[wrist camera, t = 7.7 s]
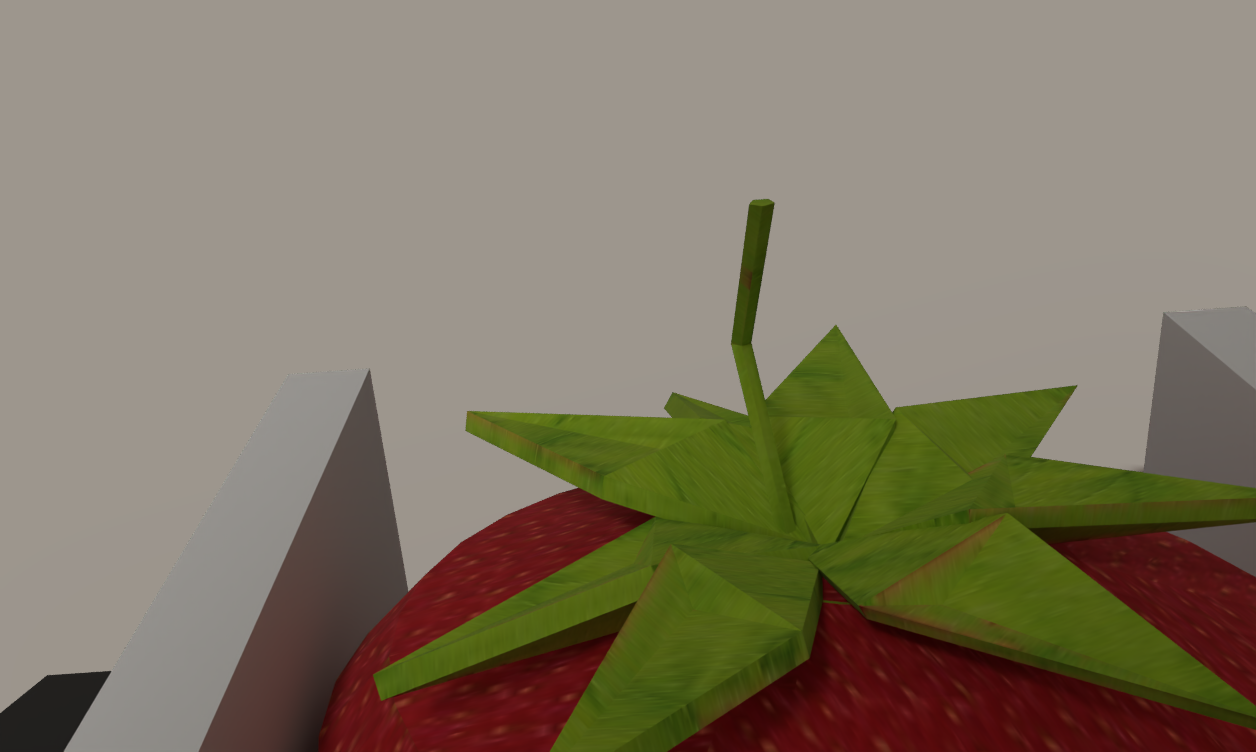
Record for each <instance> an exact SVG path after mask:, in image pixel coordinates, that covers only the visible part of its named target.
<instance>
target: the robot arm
mask: <svg viewBox="0 0 1256 752" xmlns="http://www.w3.org/2000/svg"><path fill="white" fill-rule="evenodd" d="M1143 473H1150V474H1158V475H1165V476H1172V477H1179V478H1187V479H1194V480H1201V481H1208V482H1215V483H1223V484H1230V485H1237V486H1244V487H1252V488H1256V313H1255V312H1253V311H1252V310H1250V309H1249V308H1248V307H1231V308H1217V309H1203V310H1189V311H1175V312H1164V313H1163V320H1162V328H1161V337H1160V344H1159V353H1158V361H1157V368H1156V376H1155V384H1154V393H1153V400H1152V409H1151V416H1150V424H1149V432H1148V440H1147V448H1146V456H1145V464H1144V472H1143ZM1168 533H1171V534H1173V535H1175V536H1178V537H1180V538H1183V539H1185V540H1188V541H1190V542H1192V543H1194V544H1196V545H1197V546H1199V547H1201V548H1203V549H1205V550H1207V551H1209V552H1210V553H1212V554H1214V555H1216V556H1218V557H1220V558H1221V559H1223V560H1225V561H1227V562H1229V563H1231V564H1233V565H1234V566H1236V567H1238V568H1240V569H1242V570H1244V571H1245V572H1247V573H1249V574H1251V575H1253V576H1255V577H1256V522H1254V523H1244V524H1235V525H1225V526H1216V527H1206V528H1197V529H1188V530H1178V531H1169V532H1168ZM407 593H408V587H407V581H406V576H405V570H404V564H403V558H402V552H401V547H400V541H399V535H398V529H397V523H396V518H395V512H394V507H393V500H392V496H391V489H390V483H389V478H388V472H387V466H386V461H385V455H384V449H383V443H382V437H381V431H380V426H379V421H378V414H377V409H376V403H375V397H374V391H373V386H372V380H371V374H370V369H357V370H356V369H355V370H341V371H327V372H313V373H299V374H288V376H287V377H286V379H285V381H284V382H283V384H282V386H281V387H280V389H279V391H278V393H277V394H276V396H275V397H274V399H273V401H272V403H271V404H270V406H269V408H268V409H267V411H266V413H265V414H264V416H263V418H262V419H261V421H260V423H259V424H258V426H257V428H256V429H255V431H254V433H253V435H252V436H251V438H250V440H249V441H248V443H247V445H246V446H245V448H244V450H243V451H242V453H241V455H240V456H239V458H238V460H237V461H236V463H235V465H234V467H233V468H232V470H231V471H230V473H229V475H228V476H227V478H226V480H225V481H224V483H223V485H222V487H221V488H220V490H219V492H218V493H217V495H216V497H215V498H214V500H213V502H212V503H211V505H210V507H209V508H208V510H207V512H206V513H205V515H204V517H203V519H202V520H201V522H200V523H199V525H198V527H197V529H196V530H195V532H194V534H193V535H192V537H191V539H190V540H189V542H188V544H187V546H186V547H185V549H184V550H183V552H182V554H181V555H180V557H179V559H178V561H177V562H176V564H175V565H174V567H173V569H172V571H171V572H170V574H169V576H168V577H167V579H166V581H165V582H164V584H163V586H162V587H161V589H160V591H159V592H158V594H157V596H156V598H155V599H154V601H153V603H152V604H151V606H150V608H149V609H148V611H147V613H146V614H145V616H144V618H143V619H142V621H141V623H140V624H139V626H138V628H137V629H136V631H135V633H134V634H133V636H132V638H131V639H130V641H129V643H128V644H127V646H126V648H125V650H124V651H123V653H122V655H121V656H120V658H119V660H118V661H117V663H116V665H115V666H114V668H113V670H112V671H105V672H91V673H75V674H62V675H47V676H46V677H44V678H43V679H42V680H41V681H40V682H38V683H37V684H36V685H35V686H33V687H32V688H31V689H30V690H28V691H27V692H26V693H25V694H23V695H22V696H21V697H20V698H19V699H17V700H16V701H15V702H14V703H12V704H11V705H10V706H9V707H7V708H6V709H5V710H4V711H3V712H2V713H0V752H318V741H319V733H320V730H321V727H322V724H323V720H324V717H325V714H326V710H327V707H328V704H329V701H330V697H331V694H332V691H333V688H334V684H335V681H336V680H337V678H338V677H339V675H340V674H341V672H342V671H343V669H344V668H345V666H346V665H347V663H348V662H349V660H350V659H351V657H352V656H353V654H354V653H355V651H356V650H357V649H358V647H359V646H360V644H361V643H362V641H363V640H364V638H365V637H366V635H367V634H368V633H369V632H370V631H371V630H372V629H373V628H374V627H375V626H376V625H377V624H378V623H379V622H380V621H381V619H382V618H383V617H384V616H385V615H386V614H387V613H388V612H389V611H390V610H391V609H392V608H393V607H394V606H395V605H396V604H397V603H398V602H399V601H400V600H401V599H402V598H403V597H404V596H405V595H406V594H407Z"/></svg>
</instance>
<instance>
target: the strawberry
mask: <svg viewBox="0 0 1256 752" xmlns="http://www.w3.org/2000/svg"><path fill="white" fill-rule="evenodd" d="M773 209H774V202H772V201H771V200H769V199H763V200H762V199H761V200H753V201H752V202H751V203H750V204H749V211H748V219H747V226H746V233H745V241H744V249H743V256H742V264H741V272H740V279H739V287H738V294H737V302H736V311H735V318H734V326H733V333H732V340H731V345H732V350H733V353H734V358H735V362H736V366H737V370H738V374H739V378H740V383H741V386H742V391H743V395H744V399H745V403H746V407H747V411H748V416H747V415H744V414H741V413H738V412H734V411H731V410H728V409H725V408H722V407H718V406H715V405H712V404H709V403H706V402H702V401H699V400H696V399H692V398H689V397H686V396H683V395H680V394H677V393H672V395H671V396H670V398H669V400H668V402H667V404H666V405H665V407H664V409H665V410H666V411H667V412H668V413H669V414H670V416H671V417H672V418H660V417H630V416H600V415H570V414H540V413H510V412H480V411H467V419H466V431H467V432H469V433H471V434H473V435H475V436H477V437H479V438H481V439H483V440H485V441H487V442H489V443H491V444H493V445H495V446H497V447H499V448H501V449H503V450H505V451H507V452H509V453H511V454H513V455H515V456H517V457H519V458H521V459H523V460H525V461H527V462H529V463H531V464H533V465H535V466H537V467H539V468H541V469H543V470H545V471H547V472H549V473H551V474H553V475H555V476H557V477H559V478H561V479H563V480H565V481H567V482H569V483H571V484H573V485H575V486H577V487H579V488H577V489H573V490H570V491H566V492H562V493H559V494H556V495H554V496H552V497H549V498H547V499H544V500H542V501H540V502H537V503H535V504H532V505H530V506H528V507H525V508H523V509H520V510H518V511H515V512H513V513H511V514H508V515H506V516H504V517H503V518H501V519H499V520H498V521H496V522H494V523H493V524H491V525H489V526H488V527H486V528H485V529H483V530H481V531H479V532H478V533H476V534H474V535H473V536H471V537H469V538H468V539H466V540H464V541H463V542H461V543H460V544H459V545H458V546H457V547H455V548H454V549H453V550H452V551H451V552H450V553H449V554H448V555H447V556H446V557H445V558H443V559H442V560H441V561H440V562H439V563H438V564H437V565H436V566H434V567H433V568H432V569H431V570H430V571H429V572H428V573H427V574H426V575H425V576H424V577H423V578H422V579H421V580H420V581H419V582H418V583H417V584H416V585H415V586H414V587H413V588H412V589H411V590H410V591H409V592H408V593H407V594H406V595H405V596H404V597H403V598H402V599H401V600H400V601H399V602H398V603H397V604H396V605H395V606H394V607H393V608H392V609H391V610H390V611H389V612H388V613H387V614H386V615H385V616H384V617H383V618H382V619H381V621H380V622H379V623H378V624H377V625H376V626H375V627H374V628H373V629H372V630H371V631H370V632H369V633H368V634H367V635H366V637H365V638H364V640H363V641H362V643H361V644H360V646H359V647H358V649H357V650H356V651H355V653H354V654H353V656H352V657H351V659H350V660H349V662H348V663H347V665H346V666H345V668H344V669H343V671H342V672H341V674H340V675H339V677H338V678H337V680H336V681H335V684H334V688H333V691H332V694H331V697H330V701H329V704H328V707H327V710H326V714H325V717H324V720H323V724H322V727H321V730H320V733H319V741H318V752H1256V577H1255V576H1253V575H1251V574H1249V573H1247V572H1245V571H1244V570H1242V569H1240V568H1238V567H1236V566H1234V565H1233V564H1231V563H1229V562H1227V561H1225V560H1223V559H1221V558H1220V557H1218V556H1216V555H1214V554H1212V553H1210V552H1209V551H1207V550H1205V549H1203V548H1201V547H1199V546H1197V545H1196V544H1194V543H1192V542H1190V541H1188V540H1185V539H1183V538H1180V537H1178V536H1175V535H1173V534H1171V533H1168V532H1169V531H1178V530H1188V529H1197V528H1206V527H1216V526H1225V525H1235V524H1244V523H1254V522H1256V488H1252V487H1244V486H1237V485H1230V484H1223V483H1215V482H1208V481H1201V480H1194V479H1187V478H1179V477H1172V476H1165V475H1158V474H1150V473H1143V472H1136V471H1129V470H1122V469H1114V468H1107V467H1100V466H1093V465H1085V464H1078V463H1071V462H1064V461H1056V460H1049V459H1042V458H1035V457H1031V456H1032V454H1033V453H1034V451H1035V450H1036V448H1037V447H1038V445H1039V444H1040V442H1041V441H1042V439H1043V438H1044V436H1045V434H1046V433H1047V431H1048V430H1049V428H1050V427H1051V425H1052V424H1053V422H1054V421H1055V419H1056V418H1057V416H1058V414H1059V413H1060V412H1061V410H1062V409H1063V407H1064V406H1065V404H1066V402H1067V401H1068V399H1069V398H1070V396H1071V395H1072V393H1073V392H1074V390H1075V389H1076V387H1077V385H1076V386H1068V387H1060V388H1052V389H1044V390H1035V391H1028V392H1019V393H1011V394H1003V395H994V396H986V397H978V398H970V399H961V400H953V401H945V402H937V403H929V404H921V405H913V406H904V407H896V408H895V409H894V411H893V412H891V410H890V409H889V407H888V405H887V404H886V402H885V401H884V399H883V398H882V396H881V394H880V393H879V391H878V390H877V388H876V387H875V385H874V384H873V382H872V380H871V379H870V377H869V376H868V374H867V372H866V371H865V369H864V368H863V366H862V365H861V363H860V361H859V360H858V358H857V357H856V355H855V354H854V352H853V350H852V349H851V347H850V346H849V344H848V343H847V341H846V340H845V338H844V336H843V335H842V333H841V332H840V330H839V329H838V327H837V325H835V326H834V327H833V329H832V330H831V331H830V332H829V333H828V334H827V335H826V336H825V337H824V338H823V339H822V340H821V341H820V342H819V343H818V344H817V345H816V347H815V348H814V349H813V350H812V351H811V352H810V353H809V354H808V355H807V356H806V357H805V359H803V361H802V362H801V363H800V364H799V365H798V366H797V367H796V368H795V369H794V370H793V371H792V372H791V373H790V374H789V375H788V377H787V378H786V379H785V380H784V381H783V382H782V383H781V384H780V385H779V386H778V387H777V389H775V390H774V392H773V393H772V394H771V395H770V396H769V397H768V398H767V399H766V400H765V398H764V394H763V390H762V386H761V381H760V378H759V373H758V369H757V365H756V360H755V356H754V352H753V348H752V344H751V341H752V335H753V329H754V323H755V317H756V311H757V305H758V299H759V293H760V287H761V281H762V275H763V269H764V263H765V257H766V251H767V245H768V239H769V233H770V227H771V221H772V215H773Z"/></svg>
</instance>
